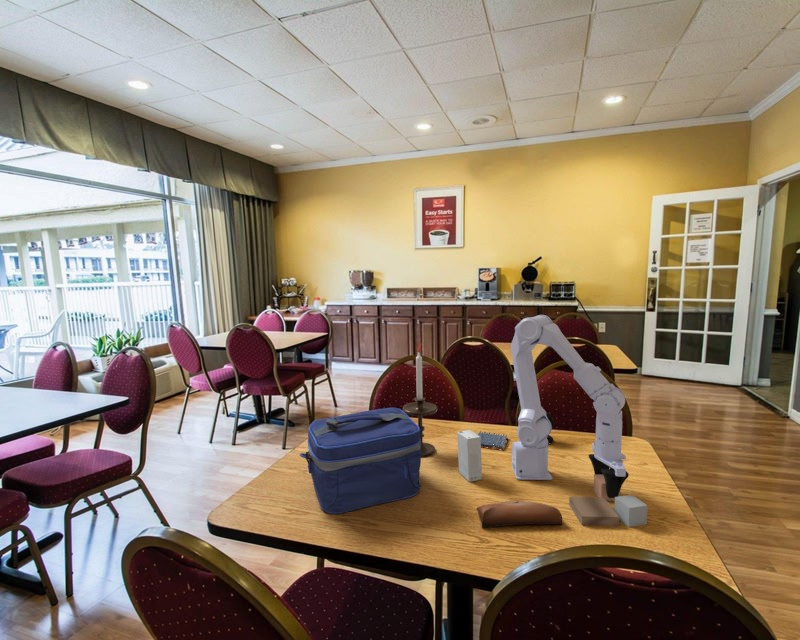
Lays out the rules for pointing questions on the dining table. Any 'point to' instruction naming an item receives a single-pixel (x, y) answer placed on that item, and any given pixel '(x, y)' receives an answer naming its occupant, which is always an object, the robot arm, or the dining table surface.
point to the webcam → (552, 427)
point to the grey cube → (631, 510)
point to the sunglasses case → (518, 514)
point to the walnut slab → (593, 511)
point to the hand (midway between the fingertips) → (606, 490)
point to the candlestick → (421, 407)
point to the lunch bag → (364, 459)
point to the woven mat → (492, 440)
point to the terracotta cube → (601, 487)
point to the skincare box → (469, 455)
